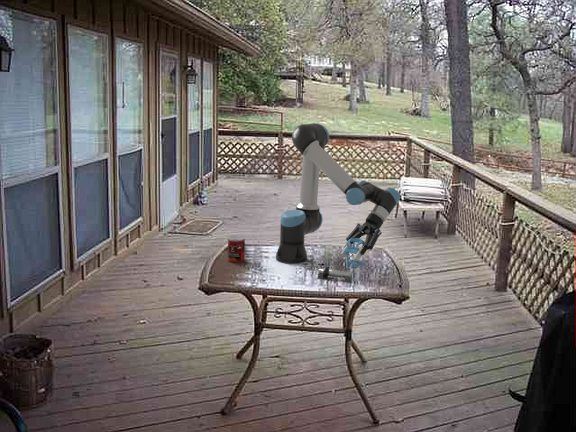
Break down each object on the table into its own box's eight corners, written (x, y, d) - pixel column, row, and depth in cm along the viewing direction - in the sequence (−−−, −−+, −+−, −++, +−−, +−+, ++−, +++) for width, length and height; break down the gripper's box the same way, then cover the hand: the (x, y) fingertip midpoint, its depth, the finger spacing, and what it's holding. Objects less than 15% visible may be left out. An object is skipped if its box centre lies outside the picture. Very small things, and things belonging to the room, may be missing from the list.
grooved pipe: (317, 278, 272) (318, 267, 271) (320, 275, 277) (320, 265, 276) (350, 282, 268) (350, 271, 267) (351, 279, 273) (352, 268, 272)
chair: (341, 265, 277) (343, 239, 274) (352, 261, 283) (353, 235, 280) (356, 268, 272) (357, 242, 269) (366, 264, 278) (368, 239, 275)
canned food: (224, 261, 293) (225, 238, 291) (232, 257, 300) (233, 235, 298) (239, 263, 290) (240, 240, 288) (247, 259, 297) (247, 237, 295)
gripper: (397, 227, 275) (369, 267, 269) (364, 218, 291) (337, 256, 284) (390, 216, 271) (361, 257, 264) (357, 208, 286) (329, 247, 280)
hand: (349, 257), depth 274 cm, fingers closed on chair, 7 cm apart
